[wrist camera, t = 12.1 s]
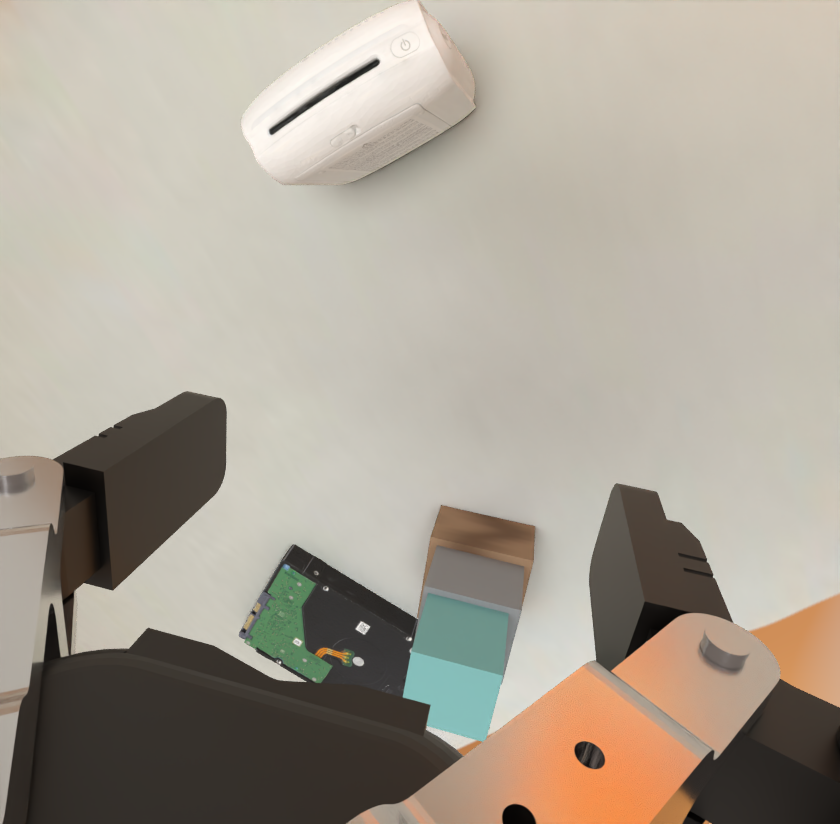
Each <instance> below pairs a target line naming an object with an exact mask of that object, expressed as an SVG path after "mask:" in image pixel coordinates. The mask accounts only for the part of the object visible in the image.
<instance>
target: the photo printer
mask: <svg viewBox="0 0 840 824" xmlns="http://www.w3.org/2000/svg"><path fill="white" fill-rule="evenodd" d="M474 97H475V82H474V78H473V75H472V72H471V70H470V68H469V67H468V65H467V63H466V62H465V60H464V58H463V57H462V55H461V54H460V52H459V51H458V49H457V47H456V46H455V44H454V43H453V41H452V40H451V38H450V37H449V35H448V33H447V32H446V30H445V29H444V27H443V26H442V25H441V24H440V23H439V21H438V20H436V19H435V18H434V17H433V16H431V15H430V14H428V12H427V11H426V9H425V8H424V7H423V5H422V4H421V2H420V1H419V0H410V1H406V2H402V3H399V4H396V5H394V6H391V7H389V8H387V9H385V10H383V11H381V12H379V13H376V14H374V15H373V16H371V17H369V18H367V19H365V20H364V21H362V22H360V23H358V24H357V25H355V26H353V27H351V28H349V29H348V30H346V31H345V32H343V33H341V34H340V35H338V36H337V37H335V38H333V39H332V40H330V41H329V42H327V43H326V44H324V45H323V46H321V47H320V48H318V49H317V50H315V51H314V52H312V53H311V54H309V55H308V56H307V57H305V58H304V59H303V60H301V61H300V62H298V63H297V64H296V65H294V66H293V67H291V68H290V69H289V70H287V71H286V72H285V73H284V74H282V75H281V76H280V77H279V78H277V79H276V80H275V81H274V82H272V83H271V84H270V85H269V86H268V87H267V88H266V89H265V90H263V91H262V92H261V93H260V94H259V95H258V96H257V97H256V98H255V99H254V101H253V102H252V103H251V104H250V106H249V107H248V108H247V109H246V111H245V112H244V114H243V116H242V119H241V127H242V132H243V135H244V137H245V139H246V140H247V141H248V143H249V144H250V146H251V148H252V150H253V153H254V156H255V158H256V161H257V162H258V163H259V165H260V166H261V167H262V168H263V169H264V170H265V171H266V172H267V173H268V174H269V175H270V176H271V177H272V178H274V179H275V180H276V181H278V182H279V183H281V184H284V185H343V184H347V183H350V182H353V181H356V180H359V179H361V178H363V177H365V176H367V175H369V174H371V173H373V172H375V171H376V170H378V169H381V168H382V167H384V166H386V165H387V164H389V163H391V162H393V161H395V160H397V159H398V158H400V157H402V156H404V155H405V154H407V153H409V152H411V151H412V150H414V149H416V148H417V147H419V146H421V145H423V144H424V143H426V142H428V141H429V140H431V139H433V138H434V137H436V136H438V135H439V134H441V133H443V132H444V131H446V130H447V129H449V128H450V127H452V126H454V125H455V124H457V123H458V122H460V121H461V120H462V119H464V118H465V117H466V116H467V115H468V114H470V113H471V112H472V111H473V110H474V109H475V108H476V106H475V104H474V102H473V100H474Z"/></svg>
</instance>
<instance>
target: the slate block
mask: <svg viewBox="0 0 840 824" xmlns="http://www.w3.org/2000/svg"><path fill="white" fill-rule="evenodd" d="M523 581H524V566H521V565H516V564H512V563H508V562H504V561H500V560H496V559H492V558H488V557H484V556H480V555H475V554H471V553H467V552H463V551H459V550H455V549H451V548H447V547H443V546H439V545H437V547H436V550H435V553H434V556H433V560H432V563H431V566H430V569H429V572H428V576H427V579H426V582H425V585H424V590H423V595H422V601H421V606H420V612H419V617H418V623H417V628H416V633H417V630H418V626H419V623H420V619H421V616H422V612H423V609H424V606H425V602H426V599H427V595H428V593H431V594H435V595H439V596H443V597H446V598H450V599H454V600H458V601H462V602H466V603H470V604H474V605H478V606H482V607H486V608H489V609H493V610H497V611H501V612H505V613H509V616H508V627H507V638H506V649H505V660H504V671H503V678H504V674H505V670H506V667H507V663H508V659H509V655H510V652H511V648H512V644H513V640H514V637H515V633H516V629H517V625H518V622H519V618H520V614H521V610H522V595H523ZM416 633H415V637H416ZM414 640H415V639H414ZM503 678H502V681H503ZM501 684H502V682H501Z"/></svg>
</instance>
